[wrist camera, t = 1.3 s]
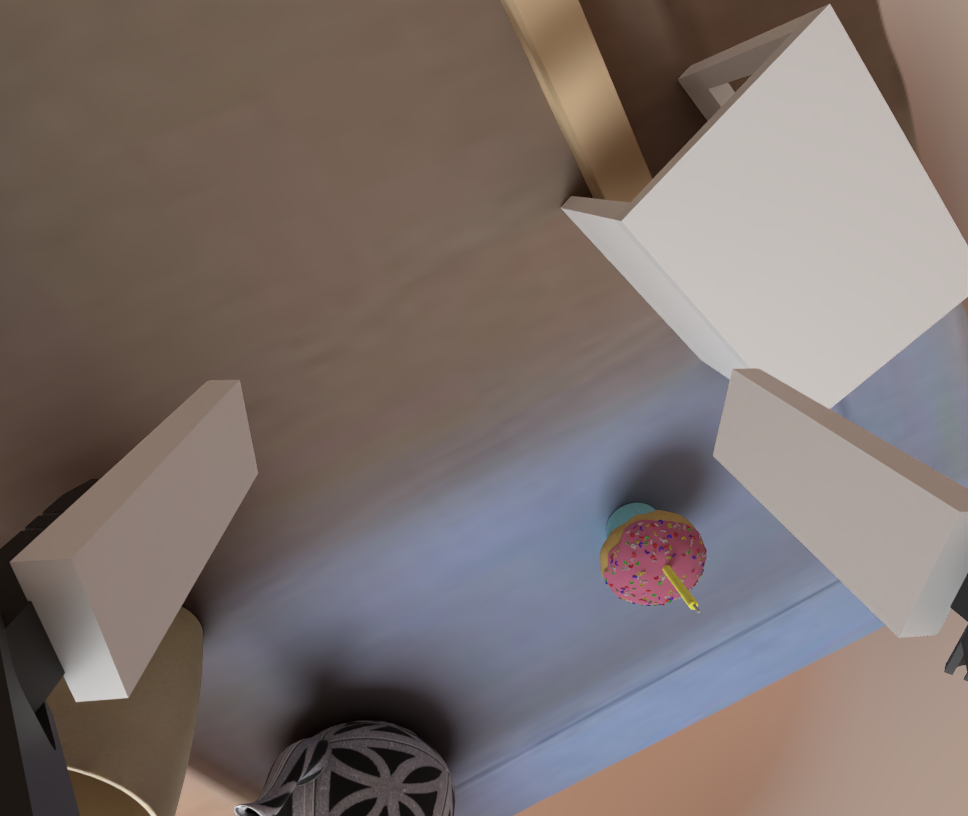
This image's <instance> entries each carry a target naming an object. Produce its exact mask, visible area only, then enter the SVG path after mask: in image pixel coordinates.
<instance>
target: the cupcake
mask: <svg viewBox="0 0 968 816" xmlns="http://www.w3.org/2000/svg"><path fill="white" fill-rule="evenodd" d="M606 534H607V540H606V541H605V543H604V544H603V546H602V548H601V552H600V564H601V573H602V575H603V577H604V579H605V581H606V582H607V583H606V582H605V583H606V584H608V586H609V587H610V588H611V590H612V591H613V592H614V593H615V594H616V595H617V596H619V598H620V599H623V600H627V601H628V602H629V601H630V602H629V603H631V602H632V603H633V604H635V603H637V604H641V605H647V606H650V605H653V606H655V605H658V604H659V605H664V603H666V602H668V603H669V601H670V602H671V601H672V600H675V599H680V596H681V597H682V598H683V600H684V601H685V602H686V604H687V605H688V606H689V608H690V609H696V611H697V612H699V613H700V612H701V610H699V608H698V602H697V601H696V600H695V598H694V597H693V596H692V594H691V593H690V592H689V589H690V590H691V589H692V586H695V585H696V583H697V582H698V580H699V579H700V577H702V575H703V574H702V572H703V571H704V569H703V567H704V564H705V560H706V558H707V557H706V548H705V546H704V544H703V541H702V538H701V536H700V534H699V532H698V531H697V530H696V529H695V528H694V526H693V525H692V524H691V523H690V522H689V521H688V520H687V519H685V518H684V517H682V516H681V515H679V514H677V513H672V512H666V511H663V510H655V509H654V508H653V507H651V506H649V505H647V504H644V503H631V504H627V505H624V506H622V507H620V508H619V509H617V510H616V511H615V512H614V513H613V514H612V515H611V516H610V518H609V520H608V522H607V526H606ZM707 559H708V558H707ZM702 570H703V571H702Z"/></svg>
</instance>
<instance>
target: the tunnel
mask: <svg viewBox="0 0 968 816" xmlns="http://www.w3.org/2000/svg"><path fill="white" fill-rule="evenodd" d="M749 75H751V76H750V77H749V78H748V79H747V81H746V82H745V83H744V84H743V85H742V86H741V87H740V88H739V89H738V90H737V91H736V92H734V90H733V89H732V87H731V86H730V85H729V83H728V82H731V81H734V80H737V79H740V78H743V77H746V76H749ZM678 81H679V83H680V84H681V86H682V87H683V88H684V90H685V91H686V92H687V94H688V95H689V96H690V98H691V99H692V101H693V102H694V103H695V105H696V106H697V107H698V109H699V110H700V112H701V113H702V114H703V116H704V117H705V118H706V120H707V122H706V124H705V125H704V126H703V127H702V128H701V129H700V130H699V131H698V132H697V133H696V134H695V135H694V136H693V137H692V138H691V139H690V140H689V141H688V142H687V143H686V145H685V146H684V147H683V148H682V149H681V150H680V151H679V152H678V153H677V154H676V155H675V156H674V157H673V158H672V159H671V160H670V161H669V162H668V163H667V164H666V166H665V167H664V168H663V169H662V170H661V171H660V172H659V173H658V174H657V175H656V176H655V177H654V178H653V179H652V180H651V181H650V182H649V183H648V184H647V185H646V187H645V188H644V189H643V190H642V191H641V192H640V193H639V194H638V195H637V196H636V197H635V198H634V199H633V200H632V201H631V202H630V203H629V202H621V201H612V200H603V199H594V198H586V197H577V196H571V197H570V198H569V199H568V200H567V201H566V202H565V203H564V204H563V206H562V207H561V209H562V210H563V211H564V212H565V213H566V214H567V216H568V217H569V218H570V219H571V220H572V221H573V222H574V223H575V224H576V225H577V226H578V227H579V229H580V230H581V231H582V232H583V233H584V234H585V235H586V236H587V237H588V238H589V239H590V240H591V242H592V243H593V244H594V245H595V246H596V247H597V248H598V249H599V250H600V251H601V252H602V253H603V255H604V256H605V257H606V258H607V259H608V260H609V261H610V262H611V263H612V264H613V265H614V266H615V268H616V269H617V270H618V271H619V272H620V273H621V274H622V275H623V276H624V277H625V278H626V279H627V281H628V282H629V283H630V284H631V285H632V286H633V287H634V288H635V289H636V290H637V291H638V292H639V294H640V295H641V296H642V297H643V298H644V299H645V300H646V301H647V302H648V303H649V304H650V305H651V307H652V308H653V309H654V310H655V311H656V312H657V313H658V314H659V315H660V316H661V317H662V318H663V320H664V321H665V322H666V323H667V324H668V325H669V326H670V327H671V328H672V329H673V330H674V331H675V333H676V334H677V335H678V336H679V337H680V338H681V339H682V340H683V341H684V342H685V343H686V344H687V346H688V347H689V348H690V349H691V350H692V351H693V352H694V353H695V354H696V355H697V356H698V357H699V359H700V360H702V361H703V362H705V363H706V364H708V365H709V366H711V367H712V368H713V369H715V370H716V371H718V372H719V373H721V374H722V375H724V376H725V377H727V378H728V379H730V378H731V373H732V369H750V368H759V369H761V370H762V371H764V372H766V373H768V374H769V375H771V376H773V377H775V378H776V379H778V380H780V381H781V382H783V383H785V384H787V385H788V386H790V387H792V388H794V389H795V390H797V391H799V392H800V393H802V394H804V395H806V396H807V397H809V398H811V399H813V400H814V401H816V402H818V403H820V404H821V405H823V406H825V407H826V408H828V409H830V408H831V407H833V406H834V405H835V404H836V403H838V402H839V401H840V400H841V399H843V398H844V397H845V396H846V395H847V394H849V393H850V392H851V391H852V390H854V389H855V388H856V387H857V386H859V385H860V384H861V383H862V382H863V381H865V380H866V379H867V378H868V377H870V376H871V375H872V374H873V373H874V372H876V371H877V370H878V369H879V368H881V367H882V366H883V365H884V364H886V363H887V362H888V361H889V360H890V359H892V358H893V357H894V356H895V355H897V354H898V353H899V352H900V351H902V350H903V349H904V348H905V347H906V346H908V345H909V344H910V343H911V342H913V341H914V340H915V339H916V338H917V337H919V336H920V335H921V334H922V333H924V332H925V331H926V330H927V329H929V328H930V327H931V326H932V325H933V324H935V323H936V322H937V321H938V320H940V319H941V318H942V317H943V316H945V315H946V314H947V313H948V312H949V311H951V310H952V309H953V308H954V307H956V306H957V305H958V304H959V303H960V302H962V301H963V300H964V299H965V298H967V297H968V246H967V244H966V242H965V240H964V239H963V237H962V235H961V233H960V231H959V230H958V228H957V226H956V225H955V223H954V221H953V219H952V218H951V216H950V214H949V212H948V211H947V209H946V207H945V205H944V203H943V202H942V200H941V198H940V196H939V195H938V193H937V191H936V189H935V188H934V186H933V184H932V182H931V181H930V179H929V177H928V175H927V173H926V172H925V170H924V168H923V166H922V165H921V163H920V161H919V159H918V158H917V156H916V154H915V152H914V151H913V149H912V147H911V145H910V144H909V142H908V140H907V138H906V137H905V135H904V133H903V131H902V129H901V128H900V126H899V124H898V122H897V121H896V119H895V117H894V115H893V114H892V112H891V110H890V108H889V107H888V105H887V103H886V101H885V100H884V98H883V96H882V94H881V93H880V91H879V89H878V87H877V85H876V84H875V82H874V80H873V78H872V77H871V75H870V73H869V71H868V70H867V68H866V66H865V64H864V63H863V61H862V59H861V57H860V56H859V54H858V52H857V50H856V49H855V47H854V45H853V43H852V42H851V40H850V38H849V36H848V34H847V33H846V31H845V29H844V27H843V26H842V24H841V22H840V20H839V19H838V17H837V15H836V13H835V12H834V10H833V8H832V6H831V5H830V4H827V5H825V6H823V7H821V8H818V9H816V10H814V11H812V12H810V13H807V14H805V15H803V16H801V17H798V18H796V19H794V20H792V21H789V22H787V23H785V24H783V25H780V26H778V27H776V28H774V29H771V30H769V31H767V32H765V33H762V34H760V35H758V36H756V37H754V38H751V39H749V40H747V41H745V42H742V43H740V44H738V45H736V46H733V47H731V48H729V49H727V50H724V51H722V52H720V53H718V54H715V55H713V56H711V57H709V58H707V59H704V60H702V61H700V62H698V63H695V64H693V65H691V66H689V68H688V69H687V70H686V71H685V72H684V73H683V74H682V75H681V76H680V77H679V78H678Z"/></svg>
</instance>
